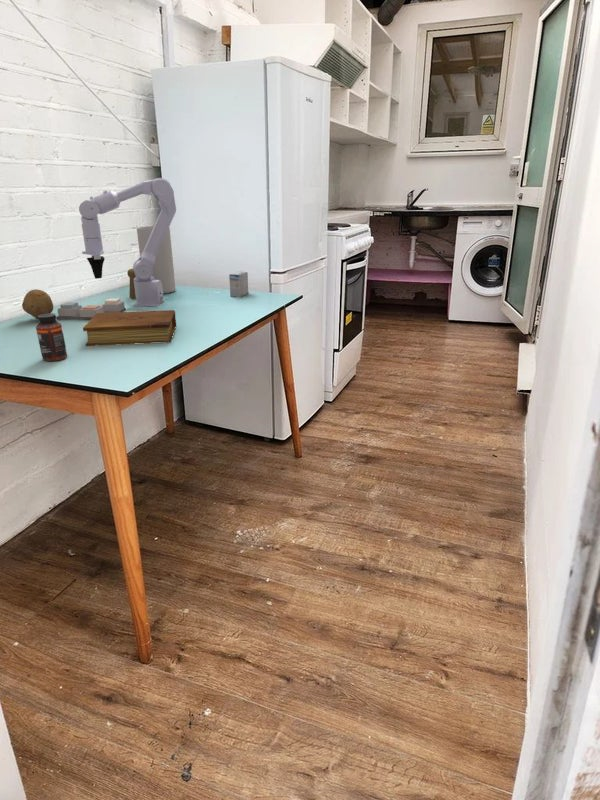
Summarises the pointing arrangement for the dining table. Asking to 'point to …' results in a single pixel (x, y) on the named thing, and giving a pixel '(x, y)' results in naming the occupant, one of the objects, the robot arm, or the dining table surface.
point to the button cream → (112, 301)
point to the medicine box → (238, 284)
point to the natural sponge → (37, 303)
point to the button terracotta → (92, 307)
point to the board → (89, 311)
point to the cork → (132, 283)
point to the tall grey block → (160, 259)
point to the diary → (130, 327)
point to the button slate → (69, 305)
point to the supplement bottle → (51, 338)
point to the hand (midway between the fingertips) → (98, 278)
